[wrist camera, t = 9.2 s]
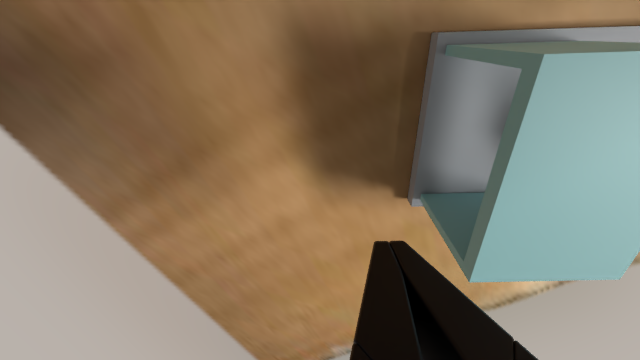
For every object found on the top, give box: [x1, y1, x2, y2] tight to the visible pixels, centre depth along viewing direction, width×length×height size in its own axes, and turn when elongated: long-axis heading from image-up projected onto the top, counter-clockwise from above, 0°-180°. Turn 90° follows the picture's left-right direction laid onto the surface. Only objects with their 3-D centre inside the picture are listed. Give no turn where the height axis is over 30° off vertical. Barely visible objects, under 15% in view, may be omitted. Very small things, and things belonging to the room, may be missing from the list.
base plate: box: [408, 26, 640, 207], centre depth 17 cm, size 17×11×2 cm, turn 92°
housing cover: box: [420, 41, 640, 282], centre depth 14 cm, size 7×10×7 cm
